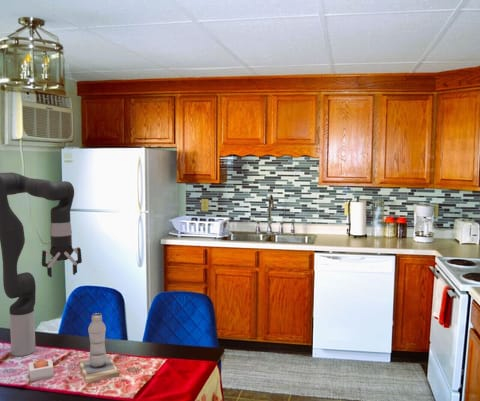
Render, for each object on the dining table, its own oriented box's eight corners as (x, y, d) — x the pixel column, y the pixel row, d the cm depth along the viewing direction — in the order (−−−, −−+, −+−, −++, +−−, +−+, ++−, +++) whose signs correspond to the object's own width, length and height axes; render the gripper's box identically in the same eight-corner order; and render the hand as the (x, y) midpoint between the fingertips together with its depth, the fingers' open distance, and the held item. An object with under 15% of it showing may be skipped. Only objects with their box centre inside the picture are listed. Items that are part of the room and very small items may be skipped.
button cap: (34, 371, 178) (34, 361, 178) (46, 369, 180) (46, 359, 179) (35, 375, 174) (35, 365, 174) (47, 373, 176) (46, 363, 176)
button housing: (29, 372, 179) (28, 362, 179) (51, 368, 183) (51, 358, 182) (30, 381, 172) (29, 371, 172) (53, 377, 175) (53, 366, 175)
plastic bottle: (102, 369, 178) (100, 318, 176) (85, 368, 179) (84, 317, 177) (110, 362, 184) (109, 312, 182) (94, 361, 186) (93, 311, 184)
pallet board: (78, 363, 187) (78, 359, 187) (109, 357, 192) (109, 353, 192) (86, 383, 171) (85, 378, 171) (119, 376, 176) (119, 371, 176)
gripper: (79, 231, 186) (80, 271, 188) (40, 233, 180) (41, 275, 182) (82, 234, 180) (83, 275, 181) (41, 236, 173) (43, 280, 175)
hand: (62, 275), depth 181 cm, fingers open, 8 cm apart
